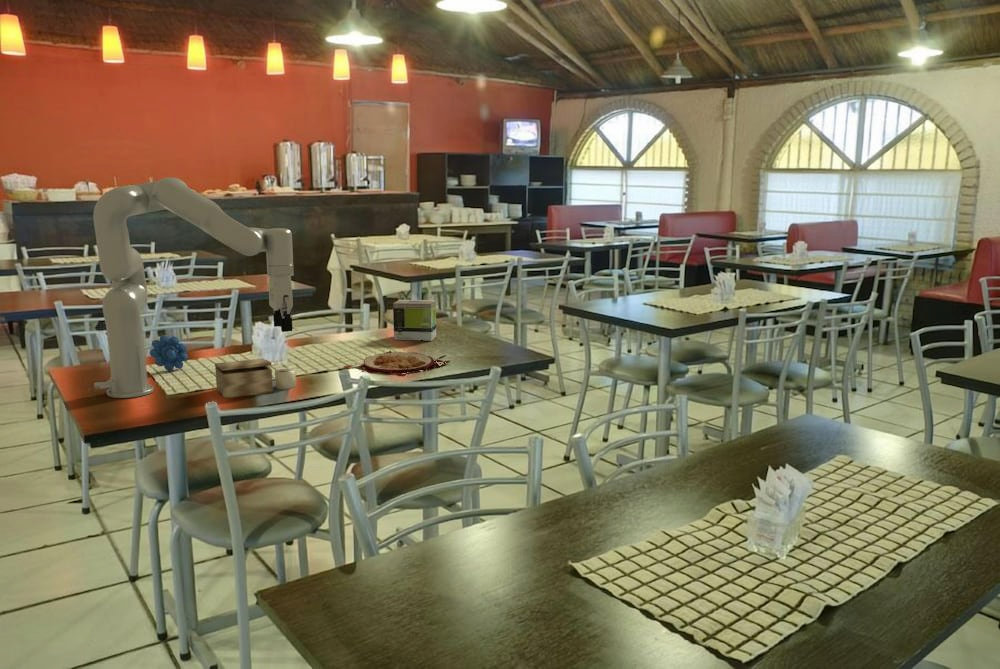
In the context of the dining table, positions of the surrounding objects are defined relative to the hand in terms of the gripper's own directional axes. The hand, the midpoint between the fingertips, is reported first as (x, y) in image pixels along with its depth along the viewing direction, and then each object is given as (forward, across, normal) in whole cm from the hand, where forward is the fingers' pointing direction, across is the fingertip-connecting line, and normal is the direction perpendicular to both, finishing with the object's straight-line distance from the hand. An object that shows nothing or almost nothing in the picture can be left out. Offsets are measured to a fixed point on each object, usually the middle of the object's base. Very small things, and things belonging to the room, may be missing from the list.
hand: (283, 328), depth 244 cm
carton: (+18, -1, -12) cm, 22 cm away
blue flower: (+18, -36, -28) cm, 49 cm away
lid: (+10, -1, -12) cm, 16 cm away
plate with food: (+19, -9, +40) cm, 45 cm away
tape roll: (+18, 0, 0) cm, 18 cm away
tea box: (+18, -48, +63) cm, 81 cm away
